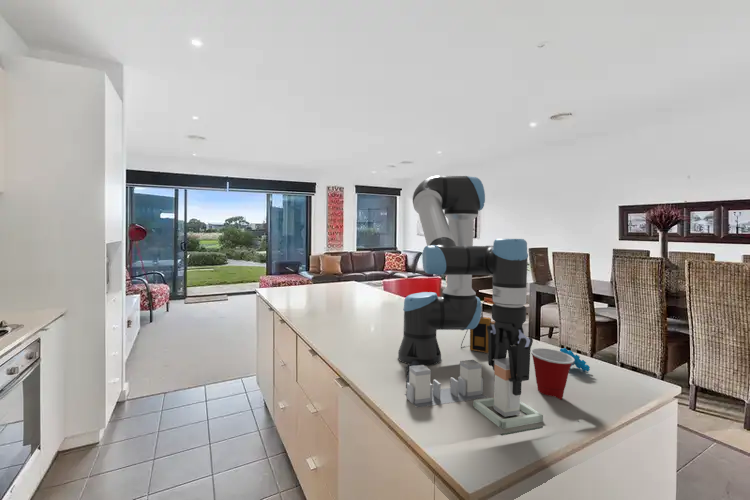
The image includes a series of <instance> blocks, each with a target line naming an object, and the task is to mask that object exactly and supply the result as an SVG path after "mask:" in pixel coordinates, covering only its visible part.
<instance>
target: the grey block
mask: <svg viewBox="0 0 750 500" xmlns="http://www.w3.org/2000/svg"><path fill="white" fill-rule="evenodd" d="M431 372H432V371H431V369H430V368H428V366H427V365H425V366H424V365H418V366H409V383H410V384H411V385H412V386H413V387H414V403H415V404H417V403H424V402H430V383H431V375H432V373H431Z"/></svg>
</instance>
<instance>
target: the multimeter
mask: <svg viewBox="0 0 750 500" xmlns="http://www.w3.org/2000/svg"><path fill="white" fill-rule="evenodd" d="M486 302H490V303H492V305H493V304H495V303H494V302H493V301H492V300H485V301H483V302H482V303H481V307H482V311H481V318H480V321H479V324H478V325H477V327H476V328H474V329H469V330H466V332H465V335H464V337H463V339H462V340H461V344H460V349H463V348H466V347H465V346H462V345H463V342H464V341H465V338H466V335H467V332H468V331H469V346H470V347H469V350H470V351H471V352H472V351H473V350H474V351H475V352H480V353H485V354H488V331H487V326H490V325H491V321H492V317H488V316H487V317H485V316H484V313H483V312H484V311H483V307H484V306H483V305H484V303H486ZM462 347H463V348H462Z"/></svg>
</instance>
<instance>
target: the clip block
mask: <svg viewBox="0 0 750 500" xmlns="http://www.w3.org/2000/svg"><path fill="white" fill-rule="evenodd" d="M449 385H450V386H449V387H447V388H441V387H442V386H441V382H439V381H438V380H437V379H433V380H432V383H431V382H430V402H424V403H417V404H415V403H414V387H413V386H412V385H411V384H410V383H407V389H406V393H404V395H405V397H406V399H407V400H408V401H409V402H410V403H411V404H413V405H414V407H416V408H423V407H424V408H425V407H431V406H437V405H444V404H450V403H451V404H452V403H458V402H464V401H465V402H466V401H473V400H480V399H487V398H488V397H487V396H486V395H484V394H483V393H484V378H483V377H482V376H481V394H480V395H473V396H467V395H466V380H465V379H463V378H462V377H460V375H459V376H457V379H456V378H454V377H450V384H449Z"/></svg>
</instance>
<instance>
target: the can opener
mask: <svg viewBox="0 0 750 500" xmlns="http://www.w3.org/2000/svg"><path fill="white" fill-rule="evenodd" d="M418 365H419V363H418V362H417V361H413V362H412V364H407V363H406V364H405V367H404V369H405V371H406V376H407V377H406V381H405V382H406V383H405V389H406V390H407V383H409V366H418Z"/></svg>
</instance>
